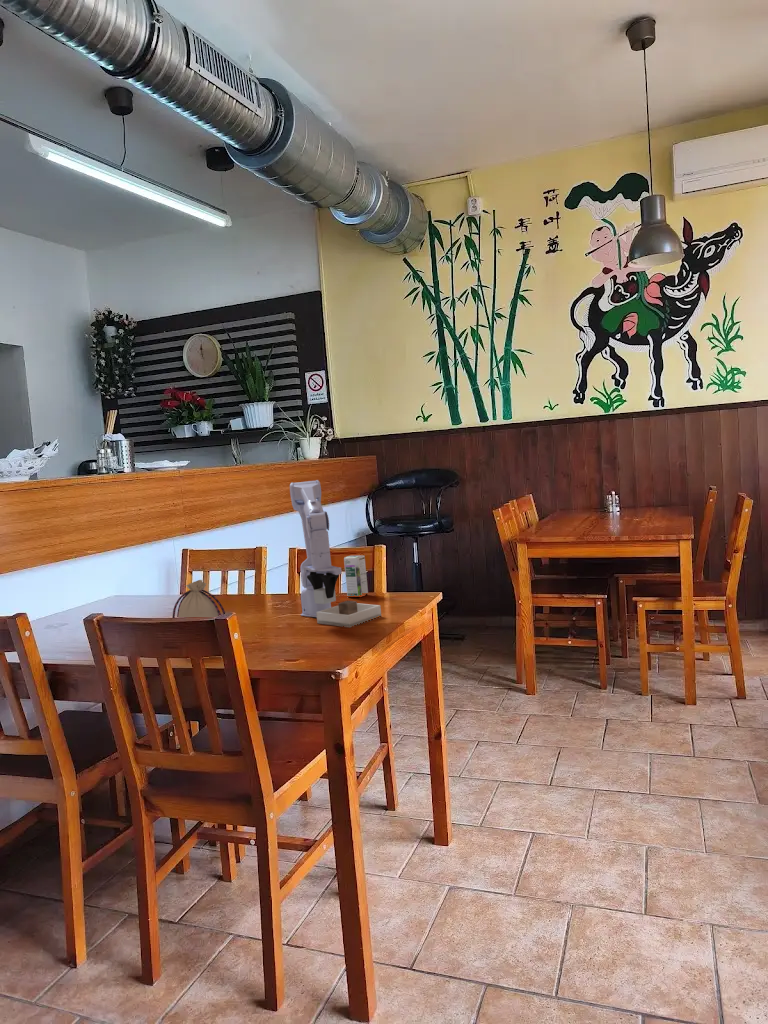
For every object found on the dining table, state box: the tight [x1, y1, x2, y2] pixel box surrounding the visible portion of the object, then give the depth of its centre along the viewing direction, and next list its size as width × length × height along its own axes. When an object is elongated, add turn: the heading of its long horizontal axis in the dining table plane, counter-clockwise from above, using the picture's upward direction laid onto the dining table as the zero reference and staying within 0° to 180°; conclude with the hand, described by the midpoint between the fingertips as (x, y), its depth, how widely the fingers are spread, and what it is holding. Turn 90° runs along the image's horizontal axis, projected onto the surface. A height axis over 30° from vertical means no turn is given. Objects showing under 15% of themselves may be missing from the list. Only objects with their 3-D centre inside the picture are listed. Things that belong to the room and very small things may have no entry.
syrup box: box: [343, 555, 369, 596], centre depth 261 cm, size 6×6×14 cm
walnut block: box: [337, 600, 358, 615], centre depth 225 cm, size 4×4×4 cm
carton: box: [314, 587, 337, 604], centre depth 220 cm, size 4×5×4 cm
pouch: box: [172, 579, 226, 618], centre depth 208 cm, size 25×8×19 cm, turn 73°
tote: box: [316, 603, 382, 628], centre depth 225 cm, size 14×14×4 cm
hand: (325, 597), depth 220 cm, fingers closed on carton, 4 cm apart
